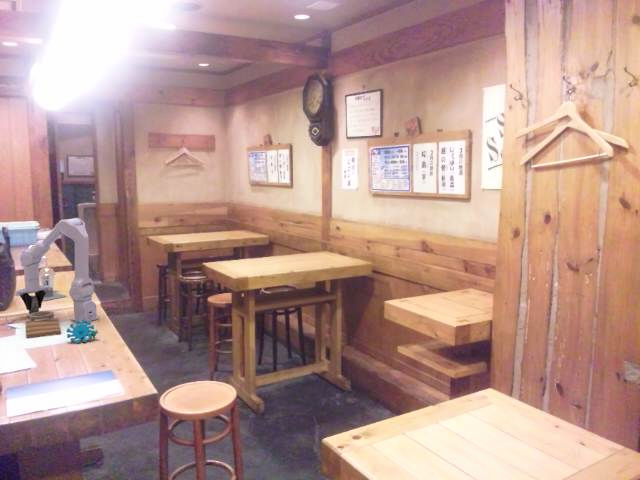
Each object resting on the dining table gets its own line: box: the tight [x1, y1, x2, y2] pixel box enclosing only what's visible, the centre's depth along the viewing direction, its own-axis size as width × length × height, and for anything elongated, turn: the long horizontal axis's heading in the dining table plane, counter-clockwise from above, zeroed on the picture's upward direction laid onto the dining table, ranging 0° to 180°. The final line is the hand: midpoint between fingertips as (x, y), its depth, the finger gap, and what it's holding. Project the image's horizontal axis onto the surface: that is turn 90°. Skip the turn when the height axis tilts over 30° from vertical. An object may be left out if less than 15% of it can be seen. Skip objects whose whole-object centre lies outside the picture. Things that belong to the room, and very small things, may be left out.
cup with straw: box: [39, 256, 57, 293], centre depth 280 cm, size 8×9×20 cm
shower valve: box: [42, 286, 67, 302], centre depth 273 cm, size 12×6×15 cm
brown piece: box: [25, 310, 62, 339], centre depth 223 cm, size 29×12×3 cm, turn 29°
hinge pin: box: [28, 294, 40, 315], centre depth 238 cm, size 4×4×8 cm
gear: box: [66, 319, 99, 344], centre depth 206 cm, size 11×6×10 cm
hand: (33, 308), depth 238 cm, fingers closed on hinge pin, 4 cm apart
